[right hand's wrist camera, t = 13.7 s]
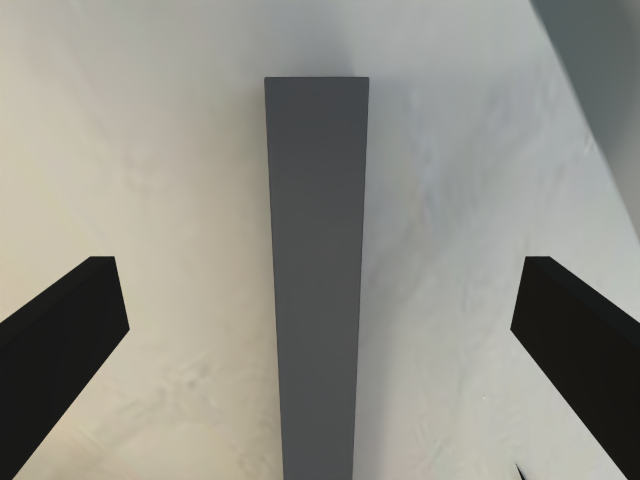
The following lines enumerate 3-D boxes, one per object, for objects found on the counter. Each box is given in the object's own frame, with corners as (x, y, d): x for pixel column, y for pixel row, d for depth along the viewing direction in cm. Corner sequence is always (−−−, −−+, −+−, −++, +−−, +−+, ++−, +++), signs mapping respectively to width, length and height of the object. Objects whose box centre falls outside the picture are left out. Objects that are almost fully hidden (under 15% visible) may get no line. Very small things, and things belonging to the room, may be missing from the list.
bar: (279, 79, 29) (263, 77, 21) (355, 79, 29) (369, 77, 21) (298, 606, 54) (294, 698, 46) (339, 606, 54) (342, 698, 46)
